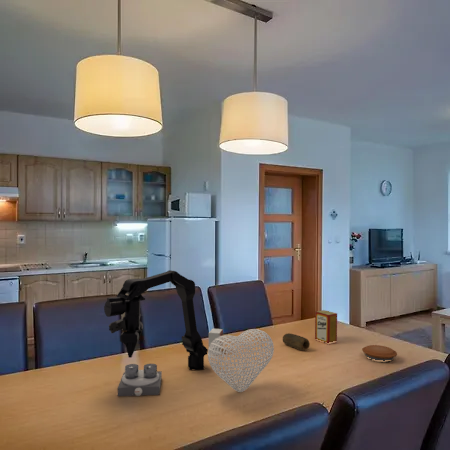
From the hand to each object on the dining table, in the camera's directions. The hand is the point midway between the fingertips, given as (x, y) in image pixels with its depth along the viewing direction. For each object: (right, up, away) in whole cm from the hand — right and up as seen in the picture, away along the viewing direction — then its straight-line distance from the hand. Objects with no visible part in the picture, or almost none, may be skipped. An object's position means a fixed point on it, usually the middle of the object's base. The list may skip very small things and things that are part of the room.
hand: (131, 353), depth 152 cm
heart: (+42, -14, -3) cm, 44 cm away
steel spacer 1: (0, -9, 0) cm, 9 cm away
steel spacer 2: (+7, -9, +1) cm, 11 cm away
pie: (+109, -15, +36) cm, 116 cm away
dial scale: (+3, -13, 0) cm, 13 cm away
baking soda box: (+90, -14, +63) cm, 111 cm away
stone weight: (+72, -14, +51) cm, 90 cm away
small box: (+31, -13, +42) cm, 54 cm away
